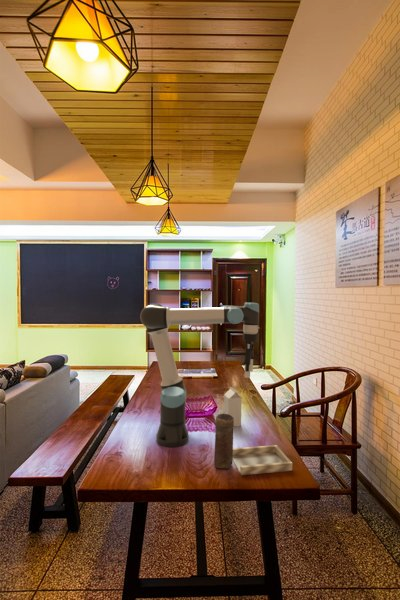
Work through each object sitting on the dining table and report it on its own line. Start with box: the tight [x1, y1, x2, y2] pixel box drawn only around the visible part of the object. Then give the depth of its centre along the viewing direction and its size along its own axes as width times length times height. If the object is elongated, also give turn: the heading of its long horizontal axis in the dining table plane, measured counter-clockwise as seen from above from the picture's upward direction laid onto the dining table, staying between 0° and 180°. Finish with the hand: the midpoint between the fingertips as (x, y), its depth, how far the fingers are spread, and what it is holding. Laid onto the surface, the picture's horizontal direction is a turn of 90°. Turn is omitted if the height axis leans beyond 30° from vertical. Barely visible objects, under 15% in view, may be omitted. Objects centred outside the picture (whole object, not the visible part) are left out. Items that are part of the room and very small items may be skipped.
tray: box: [232, 444, 293, 476], centre depth 133 cm, size 21×15×3 cm
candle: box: [213, 412, 234, 469], centre depth 130 cm, size 8×7×20 cm
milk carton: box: [223, 386, 242, 428], centre depth 171 cm, size 7×7×19 cm
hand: (248, 374), depth 166 cm, fingers open, 13 cm apart
